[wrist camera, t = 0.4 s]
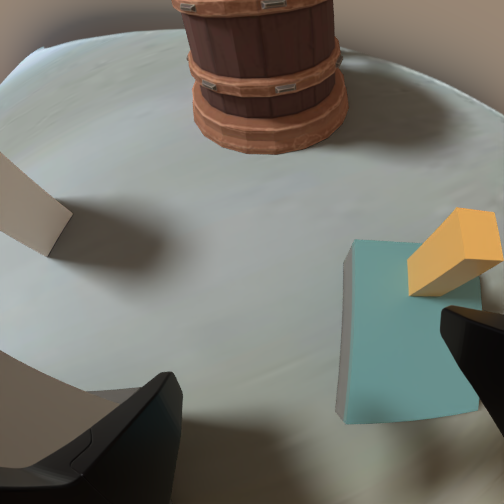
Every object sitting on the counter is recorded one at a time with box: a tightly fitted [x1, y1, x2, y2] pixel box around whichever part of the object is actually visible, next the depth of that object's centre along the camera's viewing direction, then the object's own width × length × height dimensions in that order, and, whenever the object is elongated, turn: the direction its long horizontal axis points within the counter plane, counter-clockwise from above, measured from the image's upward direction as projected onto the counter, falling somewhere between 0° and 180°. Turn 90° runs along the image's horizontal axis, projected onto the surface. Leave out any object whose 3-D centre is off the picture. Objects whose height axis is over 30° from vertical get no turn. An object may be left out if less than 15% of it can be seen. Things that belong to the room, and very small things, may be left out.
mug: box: [172, 0, 349, 154], centre depth 23 cm, size 18×23×20 cm
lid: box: [343, 208, 504, 424], centre depth 14 cm, size 12×10×10 cm
